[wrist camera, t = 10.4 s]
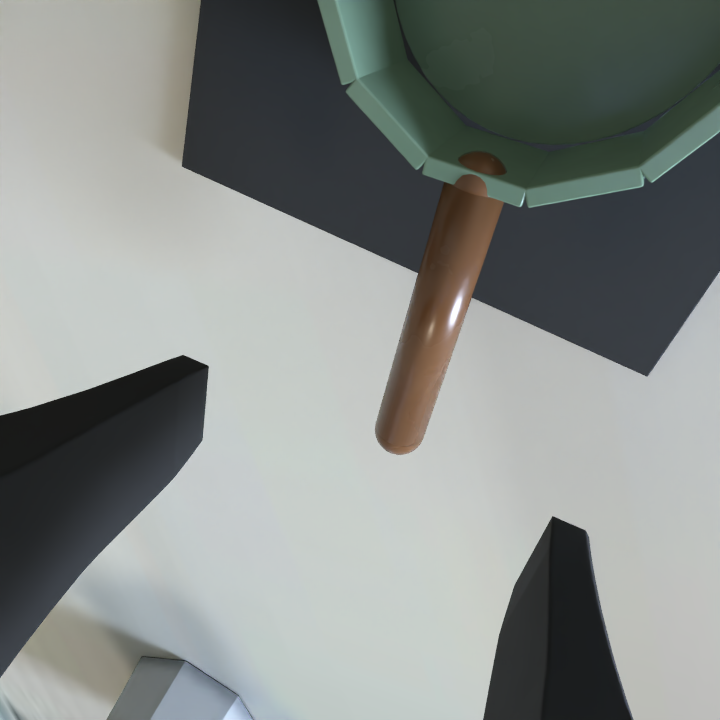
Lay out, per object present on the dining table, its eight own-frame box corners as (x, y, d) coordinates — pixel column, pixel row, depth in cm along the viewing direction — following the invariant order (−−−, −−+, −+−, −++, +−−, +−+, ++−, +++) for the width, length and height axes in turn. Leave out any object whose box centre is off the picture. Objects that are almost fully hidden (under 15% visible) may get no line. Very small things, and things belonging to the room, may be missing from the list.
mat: (1103, -293, 10) (1110, -298, 10) (647, 373, 18) (647, 377, 18) (265, -508, 13) (260, -514, 12) (185, 165, 20) (181, 166, 20)
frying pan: (561, 434, 20) (539, 529, 16) (312, 333, 21) (246, 401, 18) (970, -381, 10) (1115, -545, 7) (459, -447, 12) (377, -604, 9)
